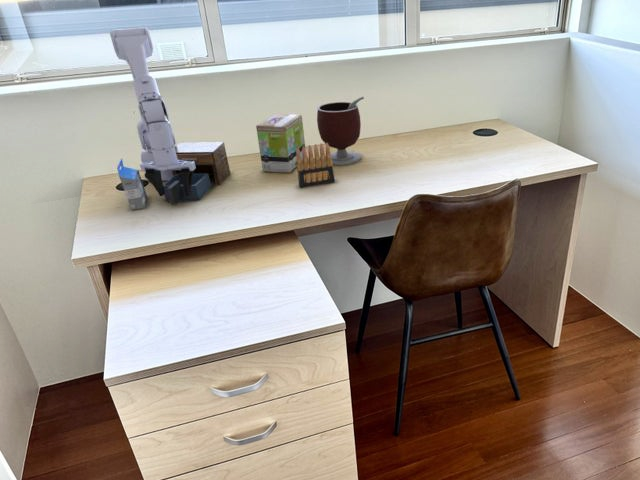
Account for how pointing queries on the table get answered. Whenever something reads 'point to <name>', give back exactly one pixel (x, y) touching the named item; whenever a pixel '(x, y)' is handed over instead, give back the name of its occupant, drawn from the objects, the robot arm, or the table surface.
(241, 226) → the table surface
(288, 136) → the tea box
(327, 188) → the table surface
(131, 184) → the label tape box
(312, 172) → the ammunition clip
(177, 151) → the drawer pedestal
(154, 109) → the robot arm
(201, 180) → the storage box
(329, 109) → the mate gourd
